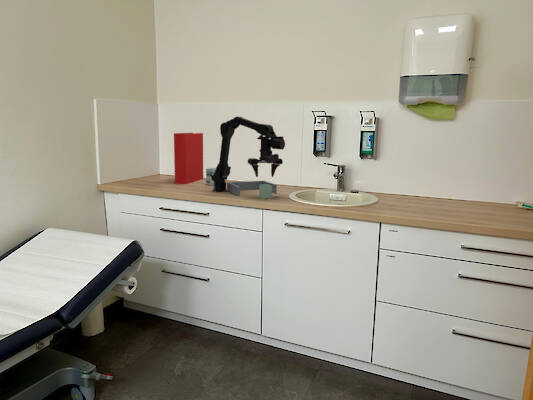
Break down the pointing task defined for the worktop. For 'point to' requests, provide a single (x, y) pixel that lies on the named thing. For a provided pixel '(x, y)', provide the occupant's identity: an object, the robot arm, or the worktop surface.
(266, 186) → the sage block
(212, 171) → the light bulb box
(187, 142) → the book
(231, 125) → the robot arm
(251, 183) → the open-front crate
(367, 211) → the worktop surface
